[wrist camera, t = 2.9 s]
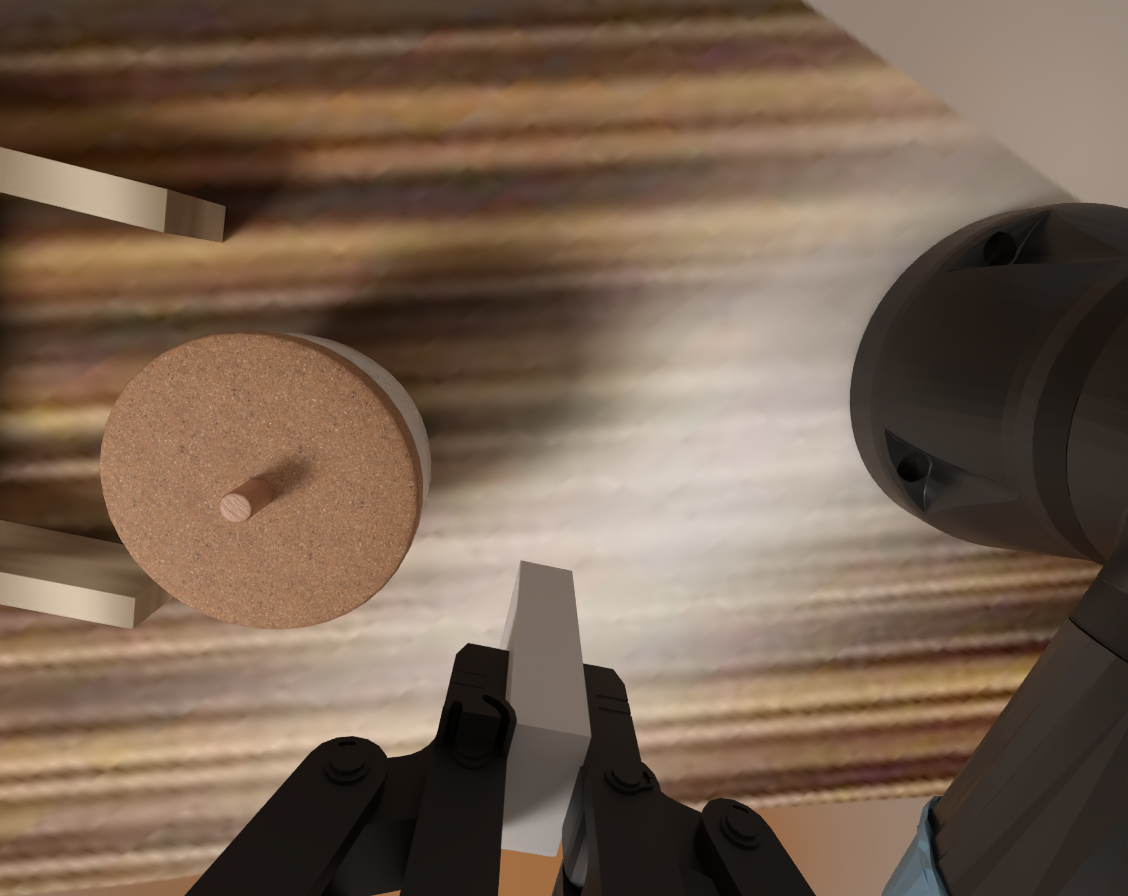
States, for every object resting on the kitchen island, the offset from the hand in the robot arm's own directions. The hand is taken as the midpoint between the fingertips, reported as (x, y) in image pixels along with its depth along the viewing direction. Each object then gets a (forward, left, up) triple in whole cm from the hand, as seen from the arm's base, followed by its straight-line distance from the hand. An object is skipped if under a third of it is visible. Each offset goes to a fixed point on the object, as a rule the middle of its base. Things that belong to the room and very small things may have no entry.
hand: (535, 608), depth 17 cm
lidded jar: (+10, 0, -12) cm, 16 cm away
